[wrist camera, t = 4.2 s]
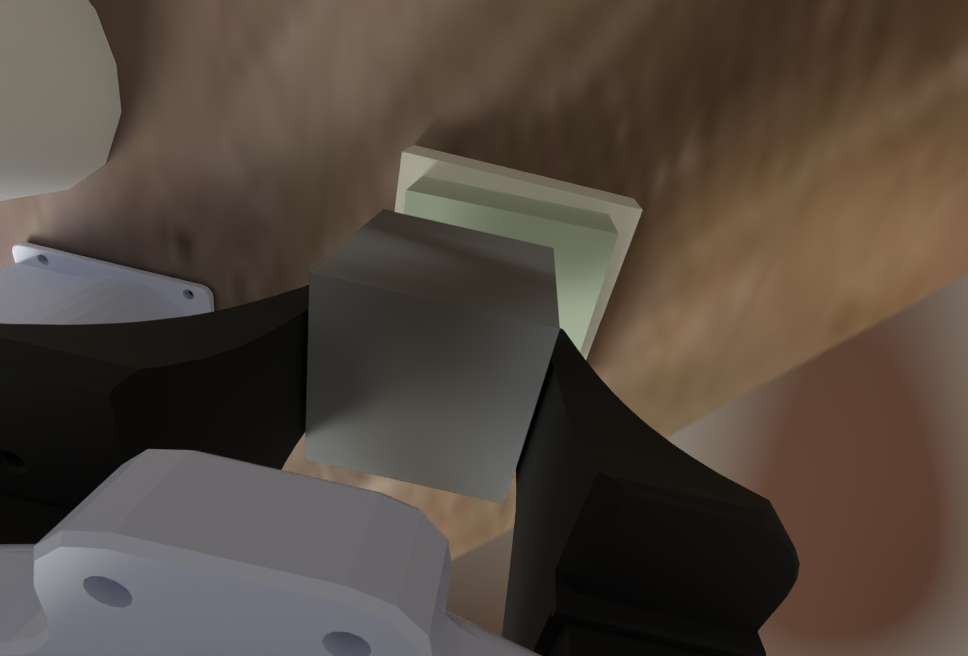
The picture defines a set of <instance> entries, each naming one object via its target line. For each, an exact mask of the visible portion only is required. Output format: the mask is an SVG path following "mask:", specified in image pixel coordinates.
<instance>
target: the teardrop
mask: <svg viewBox="0 0 968 656" xmlns="http://www.w3.org/2000/svg"><path fill="white" fill-rule="evenodd" d="M121 113H122V111H121V102H120V93H119V85H118V76H117V67H116V62H115V60H114V57H113V54H112V52H111V49H110V46H109V44H108V41H107V39H106V36H105V33H104V31H103V28H102V25H101V23H100V20H99V17H98V15H97V12H96V10H95V9H94V7H93V6H92V4H91V3H90V2H89V0H0V201H2V200H8V199H14V198H20V197H27V196H33V195H39V194H45V193H51V192H57V191H63V190H69V189H70V188H72V187H73V186H75V185H76V184H77V183H79V182H80V181H82V180H83V179H85V178H86V177H88V176H89V175H90V174H92V173H93V172H95V171H96V170H98V169H99V168H100V167H102V166H103V165H105V164H106V162H107V159H108V155H109V152H110V149H111V145H112V142H113V139H114V136H115V132H116V129H117V126H118V122H119V119H120V116H121Z"/></svg>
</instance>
